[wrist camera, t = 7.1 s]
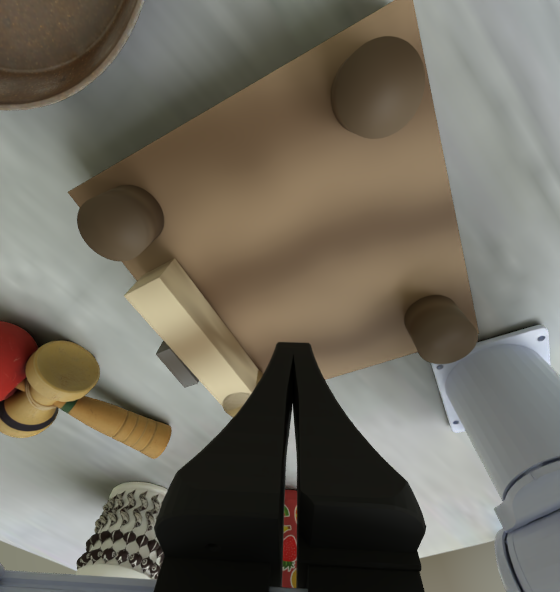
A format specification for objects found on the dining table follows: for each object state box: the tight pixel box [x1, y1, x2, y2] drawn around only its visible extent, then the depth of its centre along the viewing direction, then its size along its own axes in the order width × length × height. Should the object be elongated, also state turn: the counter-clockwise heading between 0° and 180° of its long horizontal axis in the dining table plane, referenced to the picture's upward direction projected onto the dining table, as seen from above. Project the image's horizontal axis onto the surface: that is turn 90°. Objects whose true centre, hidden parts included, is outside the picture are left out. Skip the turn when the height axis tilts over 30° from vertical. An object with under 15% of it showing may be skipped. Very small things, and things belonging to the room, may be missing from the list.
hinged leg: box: [124, 258, 263, 417], centre depth 20 cm, size 11×3×2 cm, turn 28°
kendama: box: [0, 321, 171, 459], centre depth 26 cm, size 8×6×18 cm
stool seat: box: [68, 0, 479, 388], centre depth 18 cm, size 18×18×5 cm
